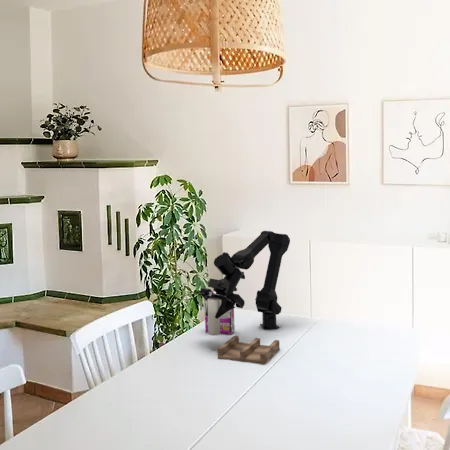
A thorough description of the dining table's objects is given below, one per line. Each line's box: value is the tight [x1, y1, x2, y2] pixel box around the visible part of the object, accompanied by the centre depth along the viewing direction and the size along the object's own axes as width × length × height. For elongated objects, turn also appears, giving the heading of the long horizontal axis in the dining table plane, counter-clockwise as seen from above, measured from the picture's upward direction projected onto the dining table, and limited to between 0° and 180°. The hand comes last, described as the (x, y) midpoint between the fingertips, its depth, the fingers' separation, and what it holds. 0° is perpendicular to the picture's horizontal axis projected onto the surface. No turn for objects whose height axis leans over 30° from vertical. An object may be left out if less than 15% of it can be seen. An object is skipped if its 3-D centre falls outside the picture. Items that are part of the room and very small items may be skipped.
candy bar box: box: [203, 290, 236, 335], centre depth 245 cm, size 11×5×16 cm, turn 73°
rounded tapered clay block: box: [207, 298, 221, 336], centre depth 224 cm, size 4×4×13 cm
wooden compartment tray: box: [217, 335, 281, 365], centre depth 219 cm, size 16×18×4 cm
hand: (211, 317), depth 223 cm, fingers closed on rounded tapered clay block, 4 cm apart
